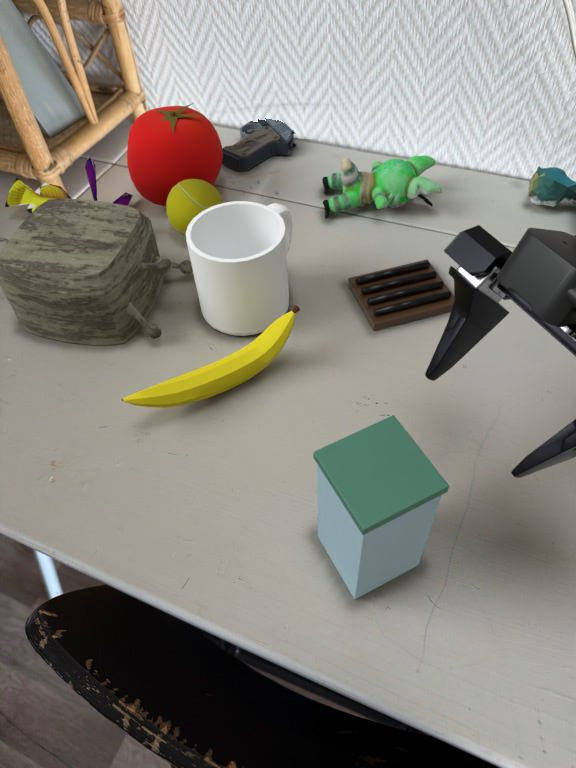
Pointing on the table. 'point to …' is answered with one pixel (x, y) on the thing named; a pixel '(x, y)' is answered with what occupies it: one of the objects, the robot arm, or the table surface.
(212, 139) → the tomato
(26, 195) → the toy
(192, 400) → the banana
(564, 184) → the figurine
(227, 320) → the mug
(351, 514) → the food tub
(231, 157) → the handgun
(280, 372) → the table surface
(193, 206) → the tennis ball
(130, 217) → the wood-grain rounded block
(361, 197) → the toy
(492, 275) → the robot arm
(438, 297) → the dish rack
